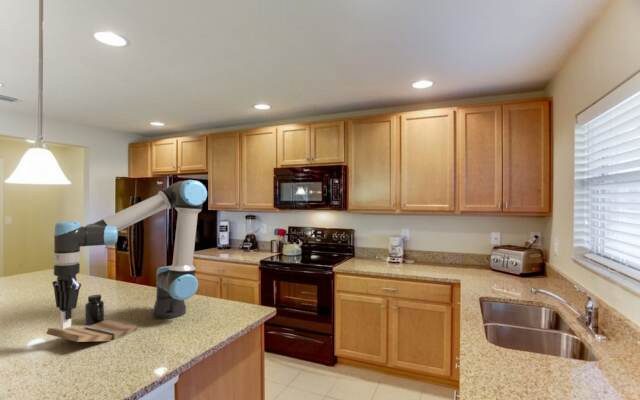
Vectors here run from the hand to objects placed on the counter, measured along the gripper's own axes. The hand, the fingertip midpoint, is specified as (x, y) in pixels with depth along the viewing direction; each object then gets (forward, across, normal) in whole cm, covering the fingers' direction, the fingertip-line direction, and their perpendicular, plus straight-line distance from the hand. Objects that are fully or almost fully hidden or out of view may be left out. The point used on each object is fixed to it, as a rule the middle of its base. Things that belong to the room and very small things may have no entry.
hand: (65, 327), depth 120 cm
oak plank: (+5, 0, +5) cm, 7 cm away
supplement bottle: (+8, -16, +21) cm, 28 cm away
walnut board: (+8, 0, +17) cm, 19 cm away
